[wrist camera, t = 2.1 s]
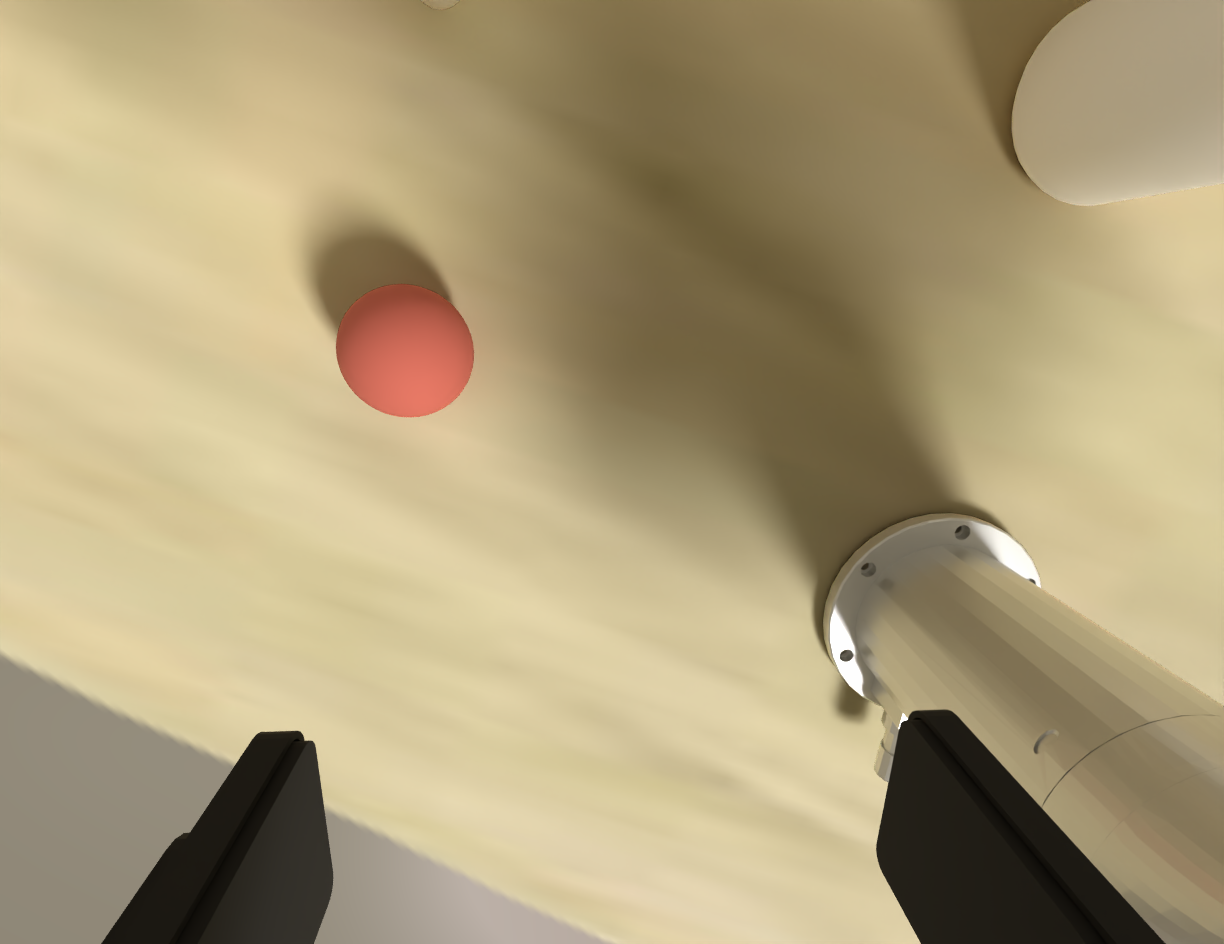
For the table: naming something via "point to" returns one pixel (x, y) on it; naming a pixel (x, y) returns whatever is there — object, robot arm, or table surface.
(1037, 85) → the alcohol
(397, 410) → the ball
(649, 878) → the table surface
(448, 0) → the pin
